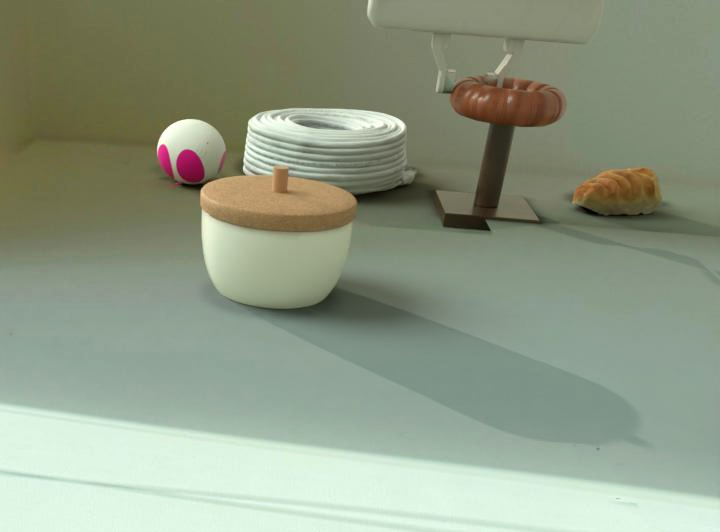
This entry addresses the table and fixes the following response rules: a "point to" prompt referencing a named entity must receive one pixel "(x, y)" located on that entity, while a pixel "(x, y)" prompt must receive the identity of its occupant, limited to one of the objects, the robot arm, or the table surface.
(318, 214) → the trinket box
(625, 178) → the pastry
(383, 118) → the cable
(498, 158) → the stand
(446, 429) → the table surface
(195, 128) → the stress ball
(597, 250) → the table surface
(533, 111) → the ring
